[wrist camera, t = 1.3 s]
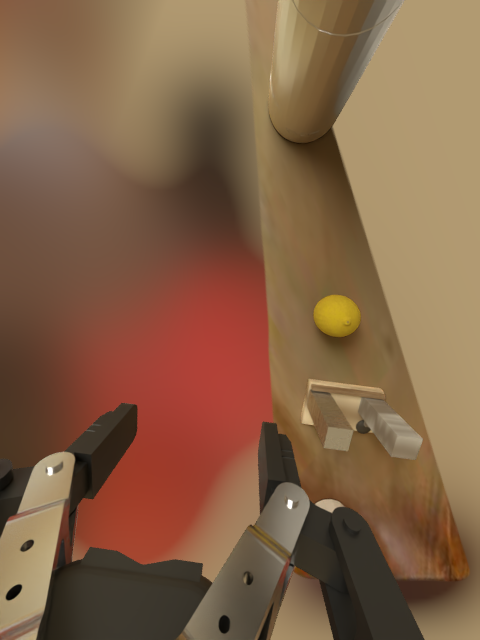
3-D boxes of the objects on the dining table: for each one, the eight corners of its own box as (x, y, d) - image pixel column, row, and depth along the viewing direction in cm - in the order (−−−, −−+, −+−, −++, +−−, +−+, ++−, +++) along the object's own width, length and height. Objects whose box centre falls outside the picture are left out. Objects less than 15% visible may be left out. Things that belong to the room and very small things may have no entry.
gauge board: (308, 378, 37) (329, 418, 27) (379, 388, 37) (427, 432, 27) (300, 419, 39) (316, 471, 29) (368, 429, 39) (408, 484, 29)
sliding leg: (309, 388, 36) (328, 426, 27) (328, 390, 36) (353, 430, 27) (304, 415, 37) (320, 460, 28) (322, 417, 37) (344, 463, 28)
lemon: (349, 320, 35) (377, 335, 27) (314, 332, 35) (331, 351, 28) (338, 286, 34) (364, 291, 26) (302, 300, 34) (317, 309, 27)
